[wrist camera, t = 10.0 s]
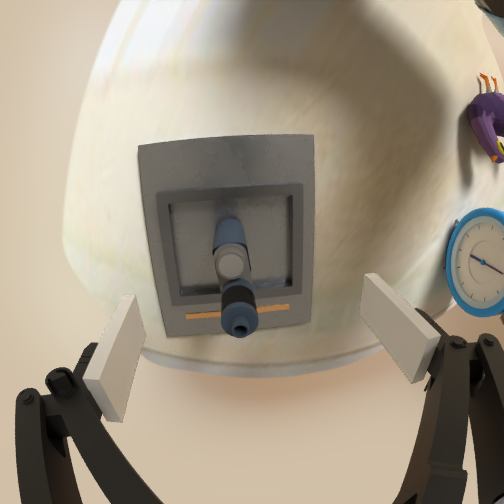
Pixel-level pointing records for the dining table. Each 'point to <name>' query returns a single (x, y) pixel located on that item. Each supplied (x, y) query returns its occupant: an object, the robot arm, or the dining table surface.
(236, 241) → the vaping device
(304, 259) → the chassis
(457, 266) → the alarm clock
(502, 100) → the toy
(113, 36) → the dining table surface
